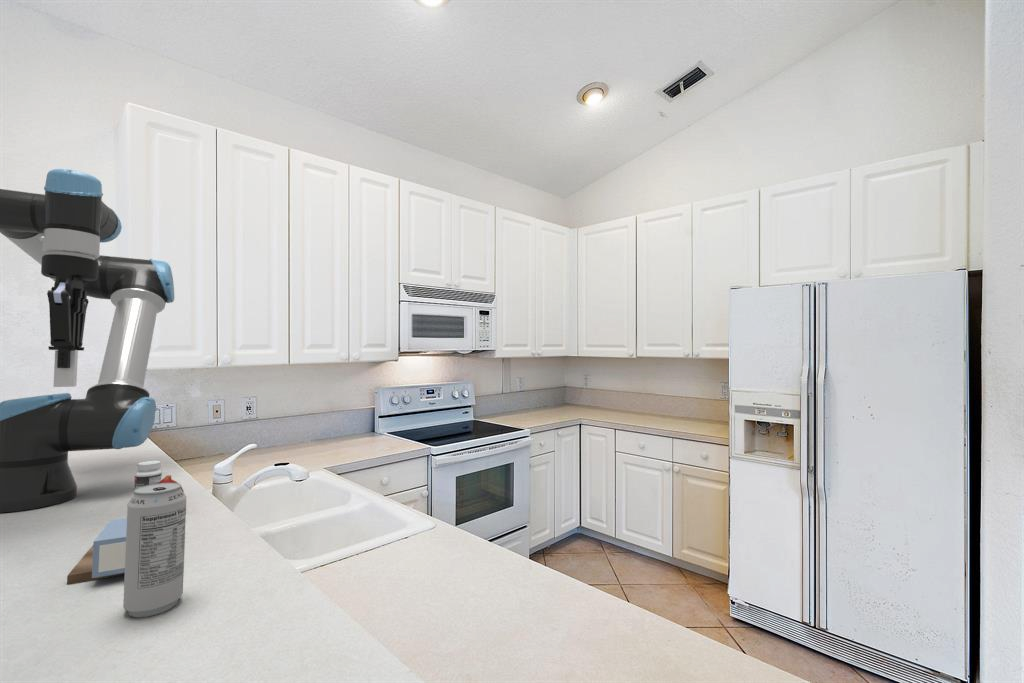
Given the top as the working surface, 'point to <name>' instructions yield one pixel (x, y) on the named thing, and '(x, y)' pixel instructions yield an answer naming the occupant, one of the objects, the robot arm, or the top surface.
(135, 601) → the energy drink can
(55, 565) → the top surface
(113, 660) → the top surface
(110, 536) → the block
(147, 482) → the pill bottle
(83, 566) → the board
